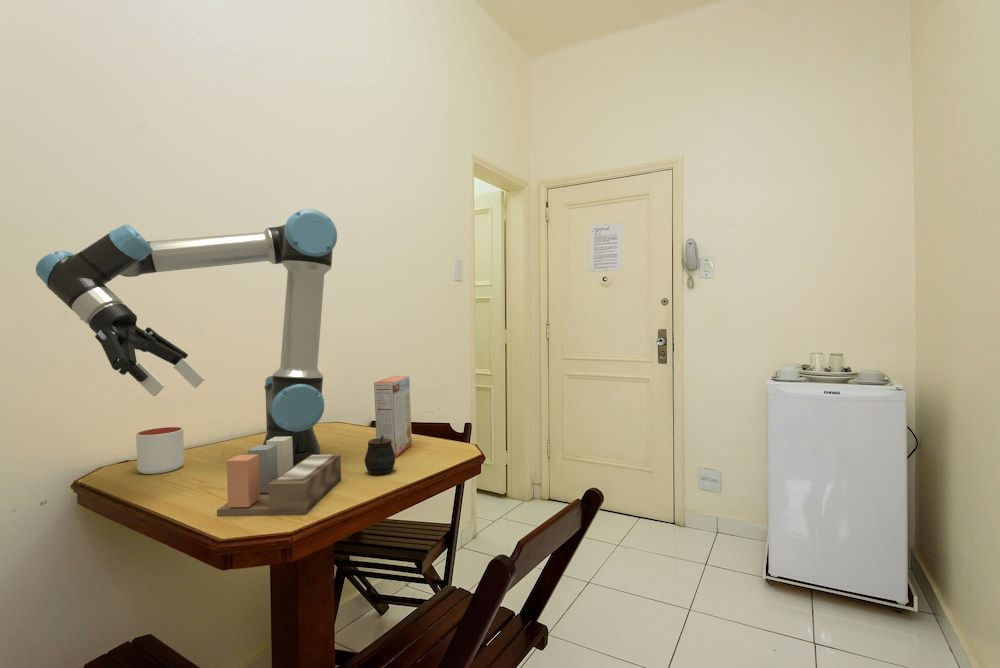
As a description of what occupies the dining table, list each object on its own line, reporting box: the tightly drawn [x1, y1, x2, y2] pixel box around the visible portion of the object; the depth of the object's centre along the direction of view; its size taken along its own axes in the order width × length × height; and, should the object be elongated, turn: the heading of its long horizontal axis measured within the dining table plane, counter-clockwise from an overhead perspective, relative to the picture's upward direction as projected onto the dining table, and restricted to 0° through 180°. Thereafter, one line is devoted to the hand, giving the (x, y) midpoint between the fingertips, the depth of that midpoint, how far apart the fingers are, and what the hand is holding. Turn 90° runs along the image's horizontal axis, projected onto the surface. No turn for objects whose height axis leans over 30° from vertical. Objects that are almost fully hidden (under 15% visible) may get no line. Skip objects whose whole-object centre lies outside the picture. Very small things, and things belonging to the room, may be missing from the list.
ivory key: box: [266, 436, 294, 477], centre depth 114 cm, size 4×4×9 cm
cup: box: [135, 426, 185, 475], centre depth 128 cm, size 10×10×10 cm
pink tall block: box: [226, 454, 260, 507], centre depth 98 cm, size 4×4×9 cm
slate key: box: [247, 444, 278, 493], centre depth 106 cm, size 4×4×9 cm
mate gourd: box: [364, 435, 396, 476], centre depth 122 cm, size 7×8×10 cm
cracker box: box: [373, 375, 413, 459], centre depth 142 cm, size 14×6×21 cm, turn 172°
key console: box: [216, 454, 342, 517], centre depth 106 cm, size 21×17×6 cm
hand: (181, 387), depth 104 cm, fingers open, 13 cm apart
